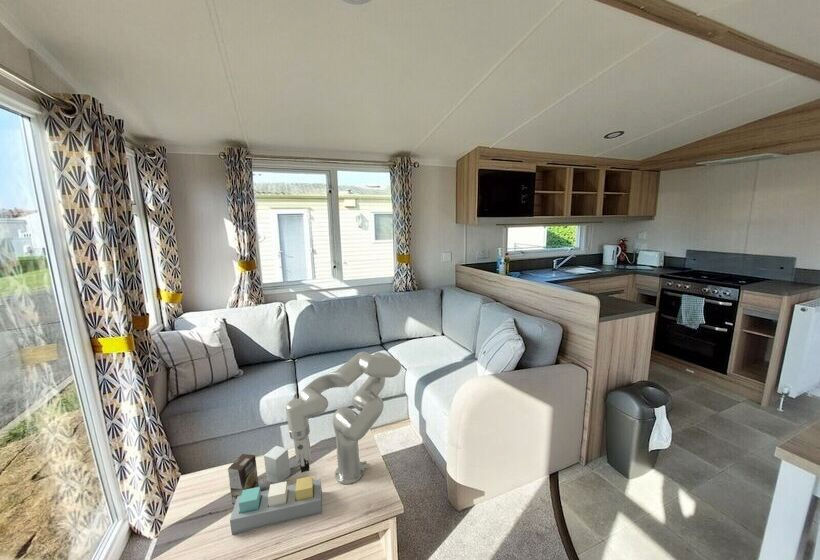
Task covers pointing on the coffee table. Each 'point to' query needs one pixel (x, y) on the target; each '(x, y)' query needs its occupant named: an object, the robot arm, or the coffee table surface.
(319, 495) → the key console
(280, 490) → the ivory key
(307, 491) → the mustard key
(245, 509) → the teal key
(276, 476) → the supplement box
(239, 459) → the coffee box
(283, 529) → the coffee table surface
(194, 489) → the coffee table surface
